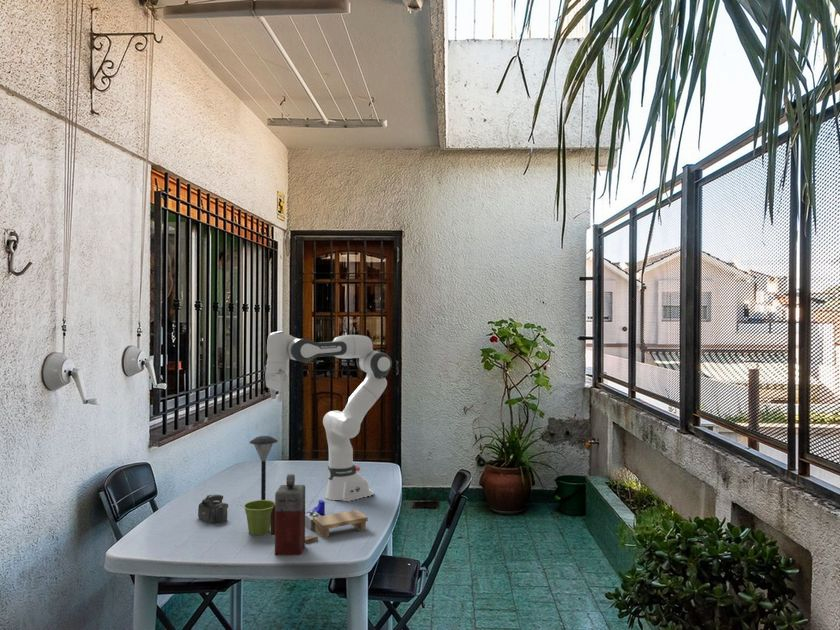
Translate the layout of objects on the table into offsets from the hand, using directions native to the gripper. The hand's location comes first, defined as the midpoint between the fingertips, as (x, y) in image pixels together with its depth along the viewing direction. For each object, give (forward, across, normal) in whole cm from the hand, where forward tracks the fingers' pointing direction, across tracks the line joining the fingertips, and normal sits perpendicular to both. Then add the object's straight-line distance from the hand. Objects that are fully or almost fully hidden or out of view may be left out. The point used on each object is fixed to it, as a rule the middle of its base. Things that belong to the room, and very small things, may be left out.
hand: (277, 400), depth 254 cm
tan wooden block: (+46, -49, +4) cm, 67 cm away
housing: (+46, -34, -3) cm, 57 cm away
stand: (+46, -44, -10) cm, 65 cm away
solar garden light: (+46, +1, +6) cm, 47 cm away
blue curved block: (+46, -20, -7) cm, 51 cm away
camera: (+46, -4, +28) cm, 54 cm away
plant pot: (+46, -30, +16) cm, 57 cm away
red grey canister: (+46, -54, +14) cm, 72 cm away
